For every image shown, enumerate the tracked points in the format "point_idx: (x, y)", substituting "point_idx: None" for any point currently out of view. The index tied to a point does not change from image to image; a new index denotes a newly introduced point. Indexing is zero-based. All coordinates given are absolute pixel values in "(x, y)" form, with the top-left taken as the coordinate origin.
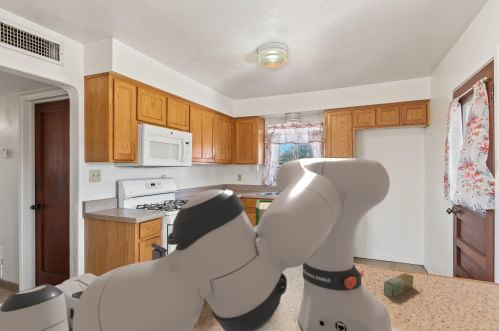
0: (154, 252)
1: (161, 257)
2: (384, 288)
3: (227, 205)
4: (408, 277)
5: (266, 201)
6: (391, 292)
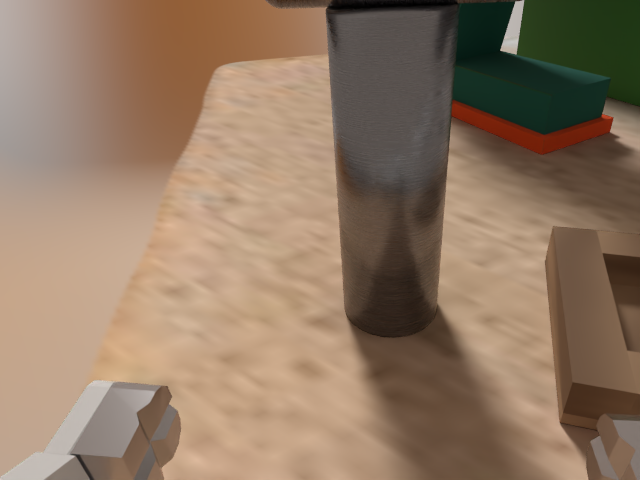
0: (409, 19)
1: (454, 63)
2: None
3: None
4: None
5: None
6: None
